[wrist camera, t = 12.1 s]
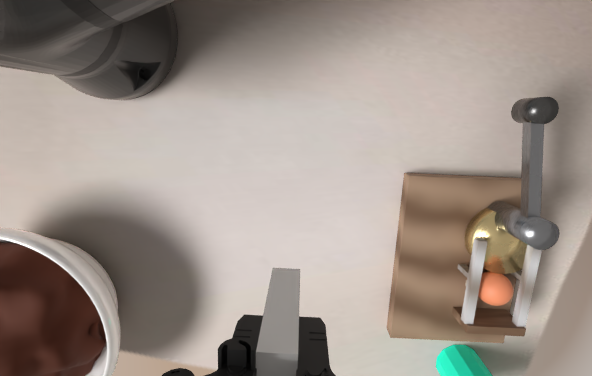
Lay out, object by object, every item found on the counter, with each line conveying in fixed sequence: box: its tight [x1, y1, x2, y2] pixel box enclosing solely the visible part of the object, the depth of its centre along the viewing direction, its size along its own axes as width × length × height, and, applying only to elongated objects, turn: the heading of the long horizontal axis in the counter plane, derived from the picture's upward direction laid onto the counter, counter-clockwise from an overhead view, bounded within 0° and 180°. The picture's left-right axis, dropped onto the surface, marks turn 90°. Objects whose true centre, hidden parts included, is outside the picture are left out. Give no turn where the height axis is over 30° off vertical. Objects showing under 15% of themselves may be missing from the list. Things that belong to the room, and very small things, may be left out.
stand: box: [387, 173, 542, 343], centre depth 40 cm, size 22×15×6 cm
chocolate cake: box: [0, 227, 121, 376], centre depth 39 cm, size 25×25×15 cm
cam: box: [464, 97, 559, 274], centre depth 35 cm, size 10×19×8 cm, turn 167°
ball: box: [478, 271, 513, 306], centre depth 40 cm, size 4×4×4 cm
